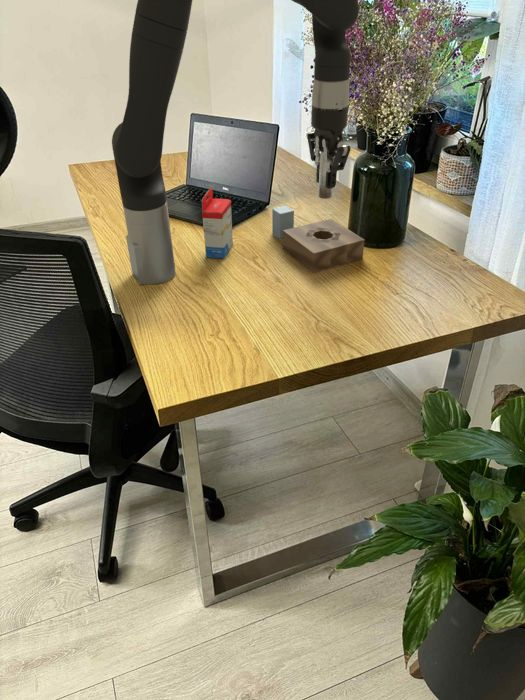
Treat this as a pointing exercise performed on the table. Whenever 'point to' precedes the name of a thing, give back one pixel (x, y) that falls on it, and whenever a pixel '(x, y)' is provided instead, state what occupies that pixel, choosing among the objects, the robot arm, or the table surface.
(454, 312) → the table surface
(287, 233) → the socket block
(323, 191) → the round bit
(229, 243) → the ink box
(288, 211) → the square bar
